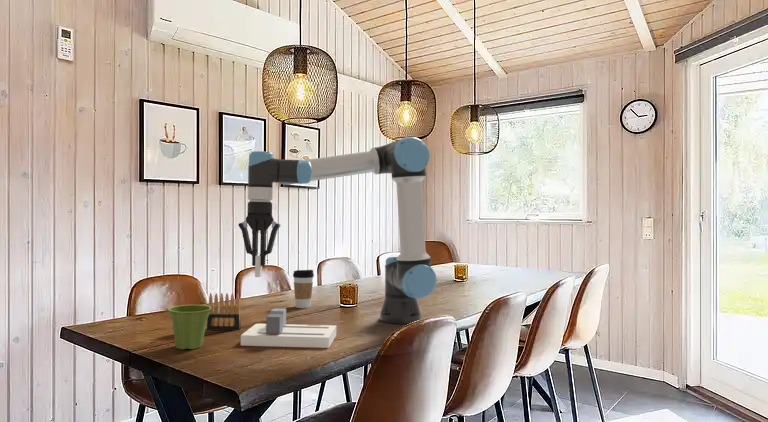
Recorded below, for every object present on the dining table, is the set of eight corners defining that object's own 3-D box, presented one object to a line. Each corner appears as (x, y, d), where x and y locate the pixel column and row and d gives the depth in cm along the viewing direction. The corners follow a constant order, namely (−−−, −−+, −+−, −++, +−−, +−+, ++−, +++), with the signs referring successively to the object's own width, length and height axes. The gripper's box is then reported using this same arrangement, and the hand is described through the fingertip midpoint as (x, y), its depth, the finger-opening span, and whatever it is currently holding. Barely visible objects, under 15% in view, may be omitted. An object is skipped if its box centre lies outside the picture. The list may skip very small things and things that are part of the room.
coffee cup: (309, 309, 216) (309, 271, 216) (289, 308, 218) (289, 270, 218) (316, 305, 225) (316, 269, 225) (296, 304, 226) (297, 268, 226)
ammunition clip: (240, 328, 182) (241, 292, 181) (239, 329, 180) (240, 293, 180) (208, 328, 181) (208, 292, 181) (206, 329, 179) (207, 293, 179)
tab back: (285, 324, 174) (286, 308, 174) (282, 327, 170) (283, 311, 170) (273, 324, 174) (273, 308, 174) (270, 326, 170) (270, 310, 170)
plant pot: (198, 353, 151) (199, 312, 151) (159, 351, 153) (159, 310, 152) (218, 342, 162) (218, 305, 162) (181, 340, 164) (181, 303, 164)
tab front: (282, 330, 165) (282, 314, 165) (279, 334, 161) (279, 317, 161) (269, 330, 165) (269, 314, 165) (266, 333, 161) (266, 316, 161)
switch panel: (336, 334, 174) (336, 325, 174) (328, 347, 158) (328, 337, 158) (256, 332, 176) (256, 323, 176) (240, 345, 160) (240, 334, 160)
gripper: (283, 201, 174) (281, 275, 174) (242, 200, 174) (241, 274, 175) (278, 201, 166) (276, 278, 167) (235, 200, 167) (234, 277, 167)
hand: (258, 276), depth 171 cm, fingers closed
